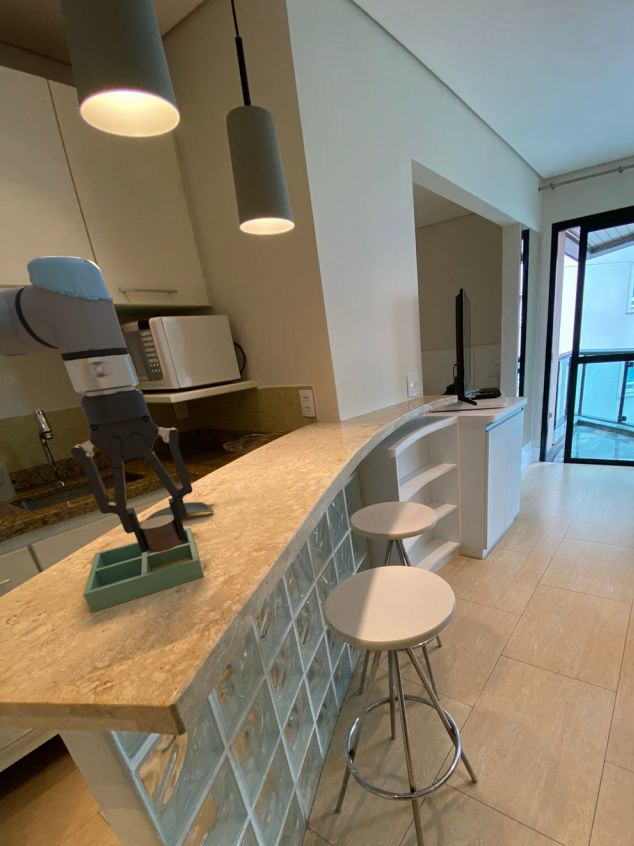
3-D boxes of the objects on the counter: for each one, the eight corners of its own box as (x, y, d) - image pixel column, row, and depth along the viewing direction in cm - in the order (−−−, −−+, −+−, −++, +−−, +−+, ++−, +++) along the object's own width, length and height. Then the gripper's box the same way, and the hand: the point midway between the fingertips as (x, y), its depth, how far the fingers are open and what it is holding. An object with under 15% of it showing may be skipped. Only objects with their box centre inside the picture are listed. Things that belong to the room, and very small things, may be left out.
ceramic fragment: (144, 529, 86) (138, 513, 84) (148, 521, 90) (143, 505, 89) (214, 516, 89) (209, 499, 88) (215, 508, 94) (210, 492, 93)
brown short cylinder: (147, 543, 65) (139, 521, 64) (181, 534, 67) (173, 512, 66) (147, 555, 61) (138, 531, 60) (183, 545, 63) (175, 522, 62)
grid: (101, 568, 71) (95, 552, 70) (195, 541, 78) (190, 527, 76) (91, 612, 59) (83, 594, 57) (204, 576, 65) (198, 559, 64)
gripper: (20, 405, 48) (96, 572, 58) (183, 382, 56) (227, 534, 65) (35, 400, 55) (101, 552, 64) (179, 380, 62) (220, 519, 71)
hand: (164, 543), depth 64 cm, fingers closed on brown short cylinder, 5 cm apart
